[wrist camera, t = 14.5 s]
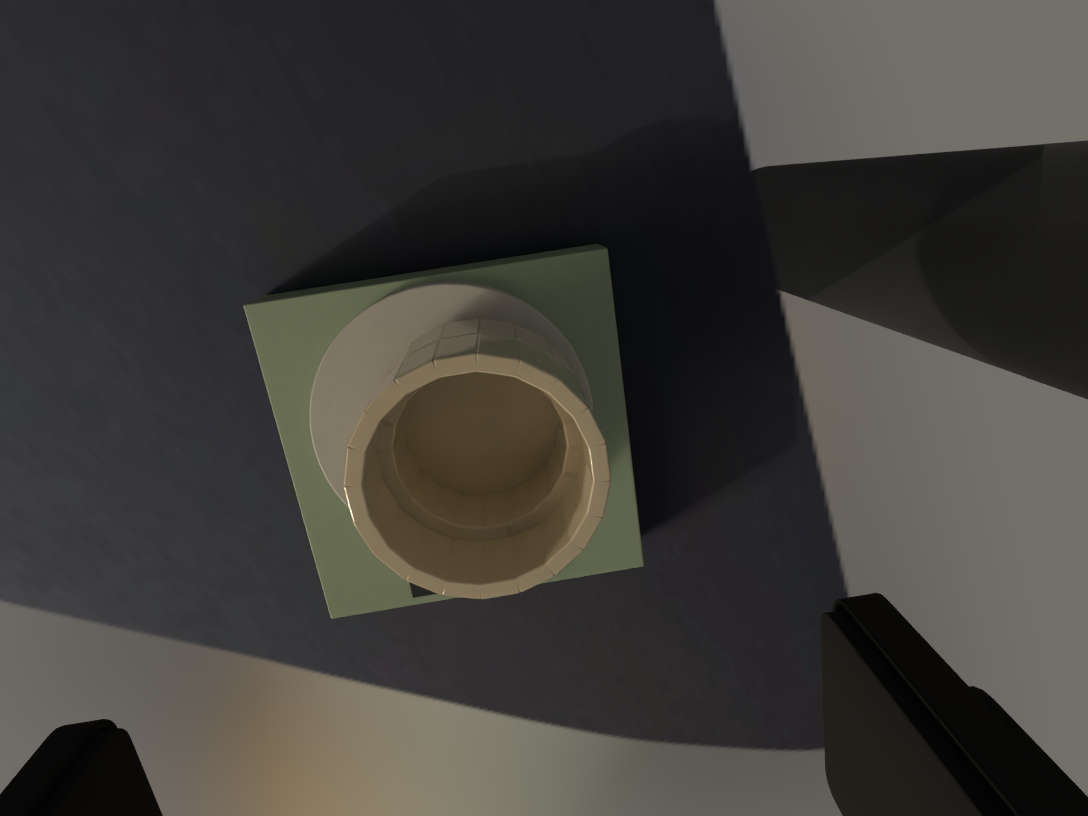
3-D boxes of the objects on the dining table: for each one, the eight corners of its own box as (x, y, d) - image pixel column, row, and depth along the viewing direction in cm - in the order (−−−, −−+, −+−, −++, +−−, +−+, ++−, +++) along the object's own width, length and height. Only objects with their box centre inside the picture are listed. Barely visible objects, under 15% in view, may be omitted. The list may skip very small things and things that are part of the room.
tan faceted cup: (569, 300, 23) (593, 333, 18) (595, 494, 25) (624, 576, 20) (355, 334, 23) (315, 378, 17) (400, 527, 25) (376, 617, 19)
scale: (598, 243, 25) (610, 249, 22) (633, 541, 29) (647, 574, 26) (261, 295, 25) (236, 307, 22) (341, 590, 28) (327, 628, 26)
